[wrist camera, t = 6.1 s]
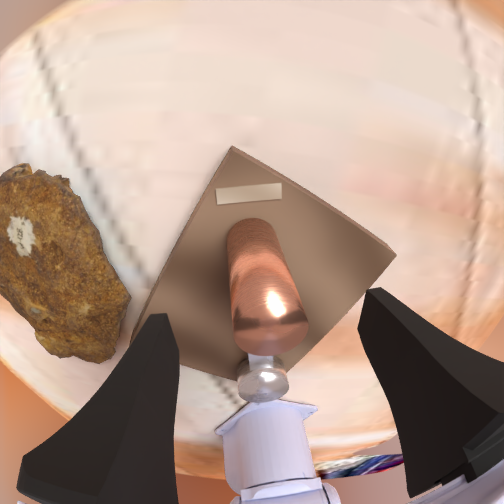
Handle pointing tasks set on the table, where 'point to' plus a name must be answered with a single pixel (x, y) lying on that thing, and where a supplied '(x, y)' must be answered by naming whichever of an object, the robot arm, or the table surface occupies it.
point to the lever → (262, 309)
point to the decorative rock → (57, 267)
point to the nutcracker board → (294, 249)
